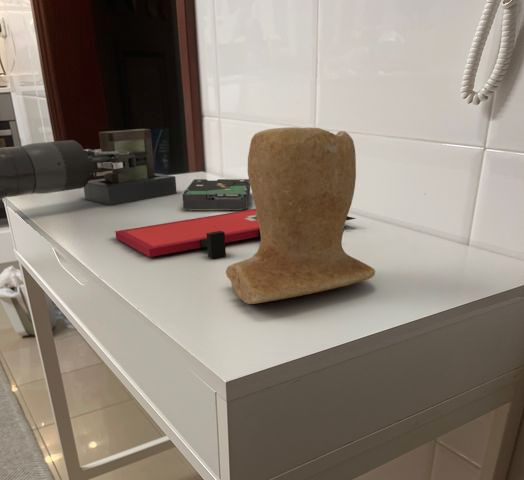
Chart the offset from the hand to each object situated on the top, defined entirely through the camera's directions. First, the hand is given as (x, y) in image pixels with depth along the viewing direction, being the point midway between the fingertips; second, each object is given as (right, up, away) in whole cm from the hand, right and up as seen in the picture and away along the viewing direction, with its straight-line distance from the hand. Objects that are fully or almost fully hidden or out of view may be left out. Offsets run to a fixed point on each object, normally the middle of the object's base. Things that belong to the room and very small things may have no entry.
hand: (141, 157), depth 99 cm
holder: (-2, -7, +1) cm, 7 cm away
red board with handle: (+19, -19, -24) cm, 36 cm away
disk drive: (+14, -9, -4) cm, 17 cm away
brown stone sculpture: (+25, -28, -43) cm, 57 cm away
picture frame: (-2, -7, +1) cm, 7 cm away
